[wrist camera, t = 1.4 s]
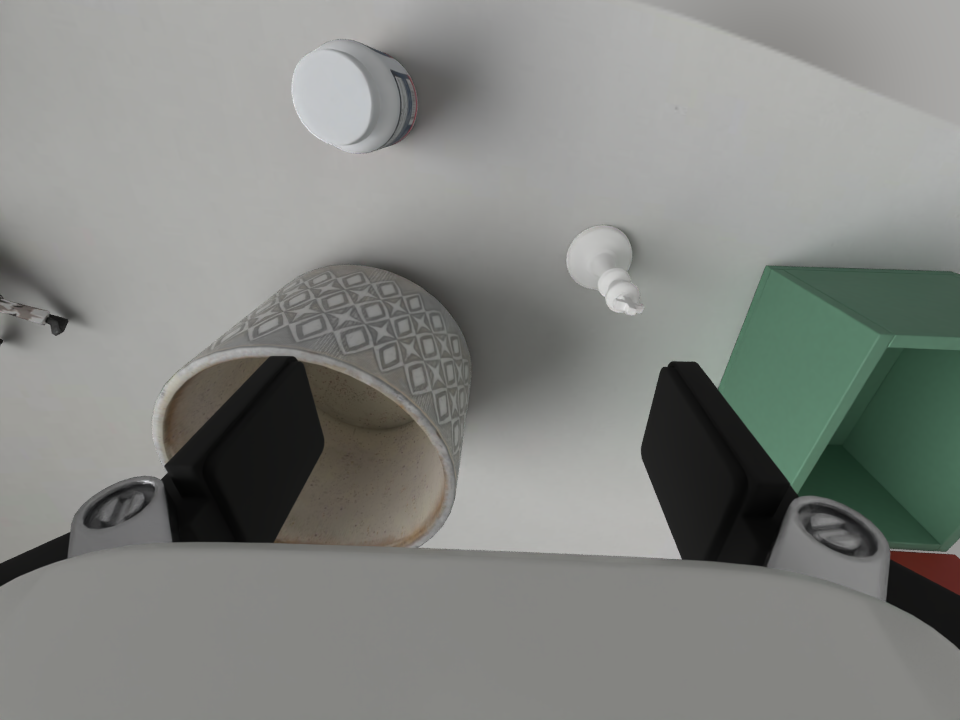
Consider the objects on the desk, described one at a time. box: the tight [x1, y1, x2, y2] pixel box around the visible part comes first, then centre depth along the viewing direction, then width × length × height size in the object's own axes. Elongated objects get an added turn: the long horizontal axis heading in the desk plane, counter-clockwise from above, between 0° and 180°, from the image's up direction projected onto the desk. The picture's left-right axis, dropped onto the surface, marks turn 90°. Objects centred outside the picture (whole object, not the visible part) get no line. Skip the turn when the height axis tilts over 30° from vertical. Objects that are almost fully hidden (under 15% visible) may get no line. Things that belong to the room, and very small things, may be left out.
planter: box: [152, 265, 472, 548], centre depth 32 cm, size 19×19×14 cm
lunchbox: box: [718, 266, 960, 552], centre depth 31 cm, size 18×14×11 cm
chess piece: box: [566, 225, 644, 316], centre depth 28 cm, size 5×5×10 cm
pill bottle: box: [292, 39, 418, 154], centre depth 23 cm, size 5×5×9 cm
